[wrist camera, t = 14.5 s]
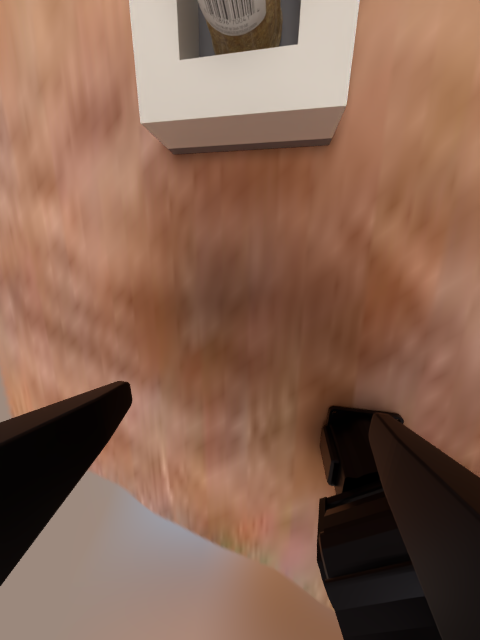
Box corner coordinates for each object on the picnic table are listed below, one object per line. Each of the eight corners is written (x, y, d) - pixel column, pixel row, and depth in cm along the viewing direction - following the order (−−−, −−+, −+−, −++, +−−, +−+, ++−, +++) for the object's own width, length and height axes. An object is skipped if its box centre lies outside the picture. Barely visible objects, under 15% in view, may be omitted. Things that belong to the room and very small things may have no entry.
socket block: (357, -107, 12) (396, -293, 8) (329, 144, 16) (346, 105, 12) (161, -61, 14) (110, -193, 10) (173, 154, 18) (140, 123, 14)
